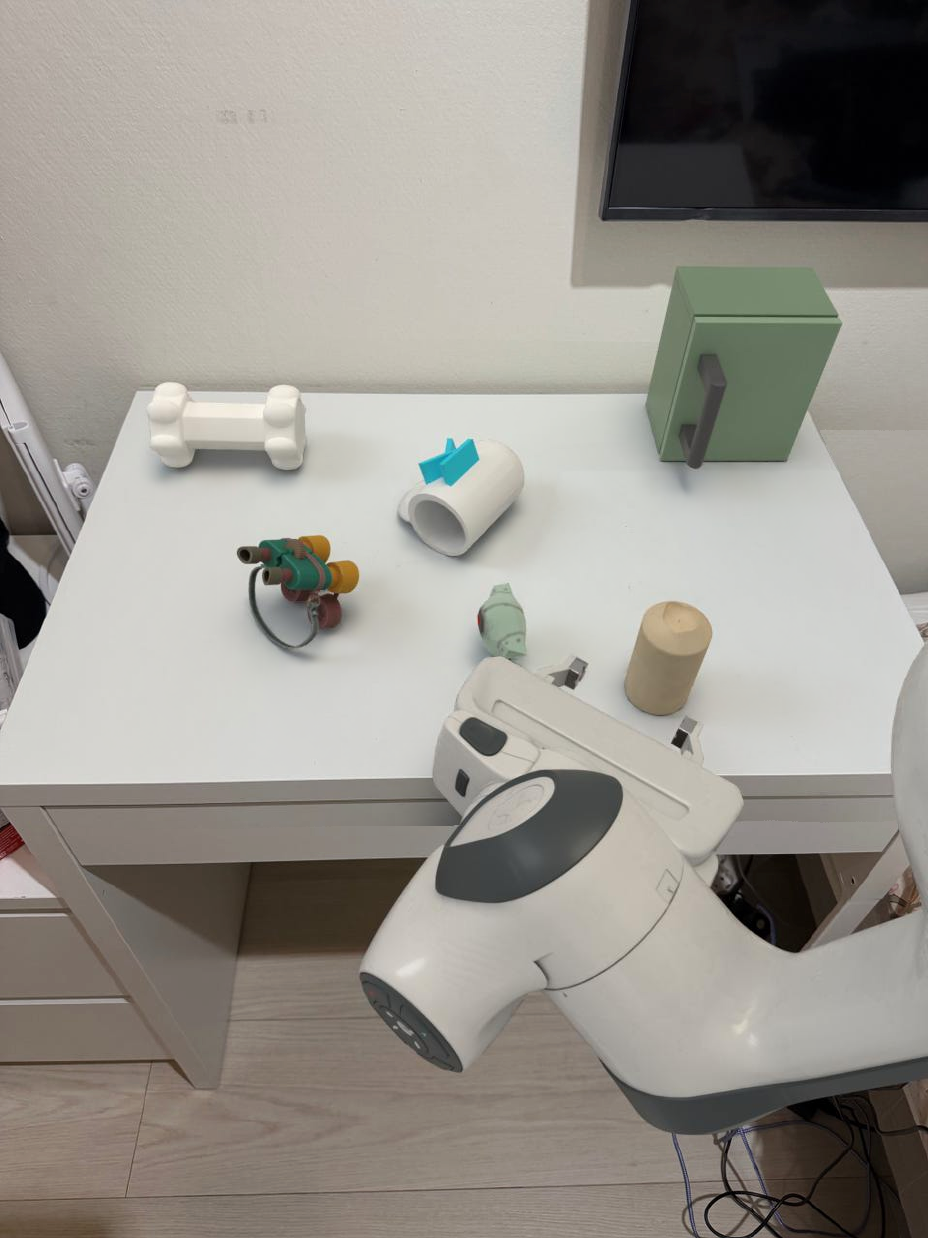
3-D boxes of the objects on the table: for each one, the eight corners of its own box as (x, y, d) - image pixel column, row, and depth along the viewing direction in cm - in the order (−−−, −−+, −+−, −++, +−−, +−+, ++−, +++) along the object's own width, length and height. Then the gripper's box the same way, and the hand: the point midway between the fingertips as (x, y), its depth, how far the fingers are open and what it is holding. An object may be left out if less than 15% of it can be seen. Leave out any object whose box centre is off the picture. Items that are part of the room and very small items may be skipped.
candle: (611, 676, 74) (632, 601, 66) (664, 655, 75) (690, 580, 68) (646, 725, 71) (671, 652, 63) (700, 702, 72) (731, 629, 65)
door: (800, 493, 90) (860, 355, 77) (669, 493, 89) (708, 354, 76) (784, 454, 94) (839, 317, 81) (659, 454, 93) (694, 316, 80)
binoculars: (335, 661, 77) (376, 570, 73) (254, 674, 70) (295, 574, 66) (276, 602, 81) (312, 513, 77) (194, 609, 74) (229, 511, 70)
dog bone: (158, 482, 89) (136, 418, 82) (176, 430, 94) (157, 367, 88) (301, 485, 89) (290, 422, 83) (311, 433, 94) (302, 370, 88)
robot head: (530, 686, 73) (537, 638, 68) (483, 692, 73) (487, 644, 67) (512, 616, 78) (517, 566, 73) (468, 620, 78) (471, 570, 72)
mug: (519, 410, 81) (448, 477, 75) (544, 490, 87) (478, 560, 80) (429, 410, 89) (357, 471, 82) (456, 484, 94) (390, 547, 87)
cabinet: (783, 454, 94) (839, 314, 81) (658, 454, 93) (694, 313, 80) (763, 405, 100) (812, 266, 86) (645, 404, 99) (676, 265, 86)
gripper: (718, 883, 48) (784, 737, 58) (423, 708, 54) (526, 602, 64) (682, 937, 52) (749, 792, 62) (412, 768, 59) (510, 660, 68)
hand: (633, 694), depth 63 cm, fingers open, 8 cm apart
